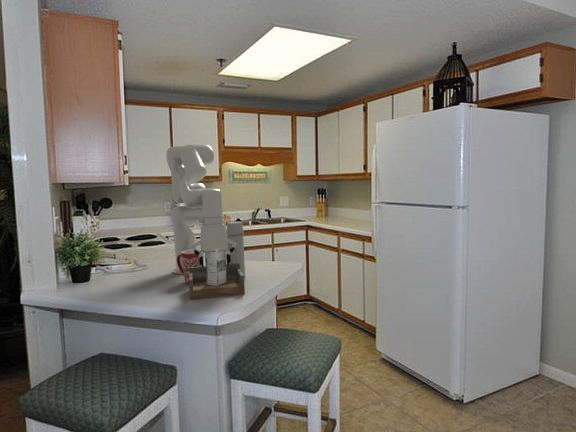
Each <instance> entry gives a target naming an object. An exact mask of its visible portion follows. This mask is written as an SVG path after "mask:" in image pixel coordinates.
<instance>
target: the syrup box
mask: <svg viewBox="0 0 576 432" xmlns="http://www.w3.org/2000/svg"><path fill="white" fill-rule="evenodd" d="M226 254H227V252H226V251H219V249H213V251H212V252H204V261H205V262H204V263H205V266H206V284H207V285H212V286H219V285H222V284H224V283H227V273H226V264H227V260H226Z"/></svg>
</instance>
